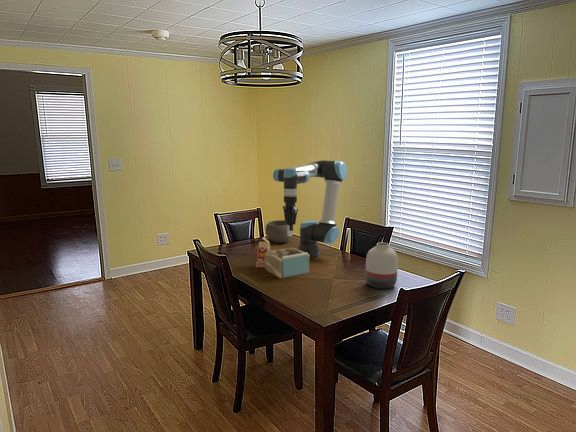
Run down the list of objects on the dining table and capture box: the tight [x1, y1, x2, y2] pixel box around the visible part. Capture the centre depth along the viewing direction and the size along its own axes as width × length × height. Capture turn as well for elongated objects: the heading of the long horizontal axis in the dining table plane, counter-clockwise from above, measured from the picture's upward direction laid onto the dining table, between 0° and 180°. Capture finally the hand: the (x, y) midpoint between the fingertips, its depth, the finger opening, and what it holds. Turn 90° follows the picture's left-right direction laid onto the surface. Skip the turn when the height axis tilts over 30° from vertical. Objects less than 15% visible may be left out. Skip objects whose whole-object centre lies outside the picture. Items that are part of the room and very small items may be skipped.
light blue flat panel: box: [281, 252, 310, 279], centre depth 247 cm, size 18×1×13 cm, turn 122°
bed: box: [264, 247, 311, 279], centre depth 255 cm, size 20×18×12 cm
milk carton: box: [255, 236, 272, 269], centre depth 264 cm, size 9×9×20 cm
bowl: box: [265, 219, 292, 244], centre depth 323 cm, size 21×21×15 cm
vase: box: [365, 241, 399, 290], centre depth 233 cm, size 17×17×24 cm
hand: (290, 235), depth 248 cm, fingers closed
